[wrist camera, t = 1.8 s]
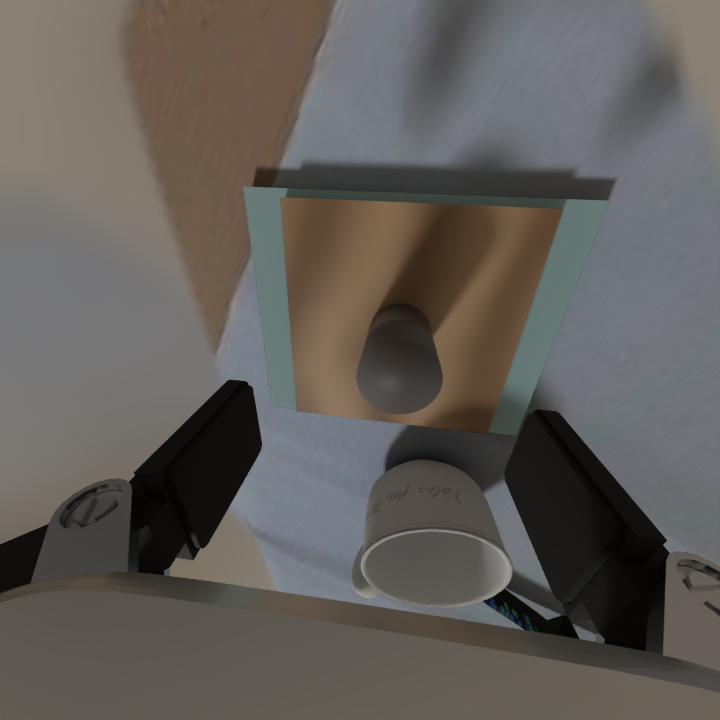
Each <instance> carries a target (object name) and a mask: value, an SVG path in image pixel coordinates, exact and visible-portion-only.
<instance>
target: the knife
mask: <svg viewBox="0 0 720 720" xmlns="http://www.w3.org/2000/svg"><path fill="white" fill-rule="evenodd" d="M483 602H484V603H486V604H487V605H488V606H490V607H491V608H493V609H494V610H496V611H497V612H499V613H500V614H502V615H503V616H505V617H506V618H508V619H509V620H511V621H512V622H514V623H516V624H517V625H519V626H520V627H521V628H523V629H524V630H527V631H533V632H539V633H545V634H552V635H558V636H564V637H570V638H575V639H579V637H578V635H577V633H576V631H575V629H574V627H573V625H572V623H571V621H570V619H569V618H567V617H561V618H558V619H555V620H551V621H547V620H546V619H545V618H544V617H542V616H541V615H540V614H539V613H537V612H536V611H535V610H533V609H532V608H530V607H529V606H528V605H526V604H525V603H524V602H522V601H521V600H519V599H518V598H517V597H515V596H514V595H513V594H511V593H510V592H508V591H507V590H506V589H503V590H502V591H500V592H499V593H497V594H496V595H495V596H493V597H491V598H489V599H487V600H484V601H483Z"/></svg>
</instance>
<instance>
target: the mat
mask: <svg viewBox="0 0 720 720" xmlns="http://www.w3.org/2000/svg"><path fill="white" fill-rule="evenodd" d="M244 195H245V203H246V211H247V219H248V226H249V234H250V242H251V250H252V257H253V265H254V273H255V281H256V288H257V296H258V304H259V312H260V319H261V327H262V335H263V343H264V350H265V358H266V366H267V374H268V381H269V389H270V397H271V405H272V407H278V408H286V409H295V410H296V398H295V385H294V372H293V360H292V347H291V334H290V321H289V309H288V296H287V283H286V271H285V258H284V245H283V232H282V220H281V207H280V197H288V198H312V199H336V200H360V201H384V202H407V203H431V204H455V205H479V206H503V207H527V208H551V209H563V211H562V214H561V217H560V220H559V223H558V226H557V229H556V232H555V235H554V238H553V241H552V244H551V247H550V250H549V253H548V256H547V259H546V262H545V265H544V268H543V271H542V274H541V277H540V280H539V283H538V286H537V289H536V291H535V294H534V297H533V300H532V303H531V306H530V309H529V312H528V315H527V318H526V321H525V324H524V327H523V330H522V333H521V336H520V339H519V342H518V345H517V348H516V351H515V354H514V357H513V360H512V363H511V366H510V369H509V372H508V375H507V378H506V381H505V384H504V387H503V390H502V393H501V396H500V399H499V402H498V405H497V408H496V411H495V414H494V417H493V420H492V423H491V426H490V429H489V432H488V433H496V434H504V435H513V436H516V435H517V433H518V430H519V428H520V425H521V423H522V420H523V418H524V415H525V413H526V410H527V408H528V405H529V403H530V400H531V398H532V395H533V393H534V390H535V388H536V385H537V383H538V380H539V378H540V375H541V373H542V370H543V368H544V365H545V363H546V360H547V358H548V355H549V353H550V350H551V348H552V345H553V343H554V340H555V338H556V335H557V333H558V330H559V327H560V325H561V322H562V320H563V317H564V315H565V312H566V310H567V307H568V305H569V302H570V300H571V297H572V295H573V292H574V290H575V287H576V285H577V282H578V280H579V277H580V275H581V272H582V270H583V267H584V265H585V262H586V260H587V257H588V255H589V252H590V250H591V247H592V245H593V242H594V240H595V237H596V235H597V232H598V230H599V227H600V225H601V222H602V220H603V217H604V215H605V212H606V210H607V207H608V205H609V202H610V201H605V200H579V199H553V198H527V197H501V196H475V195H449V194H423V193H397V192H371V191H345V190H319V189H293V188H267V187H244Z"/></svg>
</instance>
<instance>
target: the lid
mask: <svg viewBox="0 0 720 720" xmlns="http://www.w3.org/2000/svg"><path fill="white" fill-rule="evenodd" d="M280 207H281V220H282V232H283V245H284V258H285V271H286V283H287V296H288V309H289V321H290V334H291V347H292V360H293V372H294V385H295V398H296V411H299V412H307V413H316V414H324V415H332V416H341V417H349V418H357V419H366V420H374V421H383V422H391V423H399V424H408V425H416V426H424V427H433V428H441V429H449V430H458V431H466V432H474V433H483V434H488V432H489V429H490V426H491V423H492V420H493V417H494V414H495V411H496V408H497V405H498V402H499V399H500V396H501V393H502V390H503V387H504V384H505V381H506V378H507V375H508V372H509V369H510V366H511V363H512V360H513V357H514V354H515V351H516V348H517V345H518V342H519V339H520V336H521V333H522V330H523V327H524V324H525V321H526V318H527V315H528V312H529V309H530V306H531V303H532V300H533V297H534V294H535V291H536V289H537V286H538V283H539V280H540V277H541V274H542V271H543V268H544V265H545V262H546V259H547V256H548V253H549V250H550V247H551V244H552V241H553V238H554V235H555V232H556V229H557V226H558V223H559V220H560V217H561V214H562V211H563V209H551V208H527V207H503V206H479V205H455V204H431V203H407V202H384V201H360V200H336V199H312V198H288V197H280Z"/></svg>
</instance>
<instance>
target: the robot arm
mask: <svg viewBox="0 0 720 720" xmlns="http://www.w3.org/2000/svg"><path fill="white" fill-rule="evenodd" d="M261 447H262V441H261V435H260V429H259V423H258V417H257V410H256V404H255V398H254V392H253V388H252V386H249V385H248V383H247V382H246V381H239V380H228V381H227V382H226V383H225V384H224V385H223V386H221V387H220V388H219V389H218V390H217V391H216V392H215V393H214V394H213V395H212V396H211V397H210V398H209V399H208V400H207V401H206V402H205V403H204V404H203V405H202V406H201V407H200V408H199V409H198V410H197V411H196V412H195V413H194V414H193V415H192V416H191V417H190V418H189V419H188V420H187V421H186V422H185V423H184V424H183V425H182V426H181V427H180V428H179V429H178V430H177V431H176V432H175V433H174V434H173V435H172V436H171V437H170V438H169V439H168V440H167V441H166V442H165V443H164V444H163V445H162V446H161V447H159V448H158V449H157V451H155V452H154V453H153V454H152V455H151V456H150V457H149V458H148V459H147V460H146V461H145V462H144V463H143V464H142V465H141V466H140V467H139V468H138V469H137V470H136V471H135V472H134V474H135V476H134V477H133V478H132V479H131V480H130V481H129V482H127V481H126V480H123V479H107V480H104V481H100V482H96V483H94V484H92V485H90V486H87V487H85V488H84V489H82V490H80V491H78V492H76V493H75V494H73V495H72V496H71V497H69V498H68V499H67V500H66V501H64V502H63V503H62V504H61V505H60V506H59V508H58V509H57V510H56V511H55V512H54V514H53V516H52V518H51V520H50V522H49V524H48V525H45V526H43V527H40V528H38V529H35V530H33V531H31V532H29V533H26V534H24V535H21V536H19V537H17V538H14V539H12V540H9V541H7V542H5V543H3V544H0V720H720V566H718V565H716V564H715V563H713V562H711V561H709V560H707V559H705V558H702V557H700V556H698V555H695V554H691V553H688V552H678V551H675V552H673V553H671V554H670V553H669V552H668V551H667V549H666V548H665V547H664V546H663V544H664V543H665V542H666V541H667V540H666V539H665V537H664V536H663V535H662V534H661V533H660V531H659V530H658V529H657V528H656V527H655V526H654V524H653V523H652V522H651V521H650V520H649V518H648V517H647V516H646V515H645V514H644V513H643V511H642V510H641V509H640V508H639V507H638V505H637V504H636V503H635V502H634V501H633V500H632V498H631V497H630V496H629V495H628V494H627V492H626V491H625V490H624V489H623V488H622V487H621V485H620V484H619V483H618V482H617V481H616V479H615V478H614V477H613V476H612V475H611V474H610V472H609V471H608V470H607V469H606V468H605V466H604V465H603V464H602V463H601V462H600V461H599V459H598V458H597V457H596V456H595V455H594V453H593V452H592V451H591V450H590V449H589V448H588V446H587V445H586V444H585V443H584V442H583V440H582V439H581V438H580V437H579V436H578V435H577V433H576V432H575V431H574V430H573V429H572V427H571V426H570V425H569V424H568V423H567V422H566V420H565V419H564V418H563V417H562V416H561V414H560V413H558V412H556V411H549V410H539V409H537V410H535V411H534V412H533V413H530V414H528V416H527V418H526V420H525V422H524V425H523V427H522V430H521V432H520V435H519V437H518V439H517V442H516V444H515V447H514V449H513V452H512V454H511V457H510V459H509V461H508V464H507V466H506V469H505V473H504V477H505V481H506V484H507V486H508V489H509V491H510V493H511V496H512V498H513V501H514V503H515V505H516V508H517V510H518V512H519V515H520V517H521V519H522V522H523V524H524V527H525V529H526V531H527V534H528V536H529V538H530V541H531V543H532V545H533V548H534V550H535V553H536V555H537V557H538V560H539V562H540V564H541V567H542V569H543V571H544V574H545V576H546V578H547V581H548V583H549V586H550V588H551V590H552V592H553V594H554V596H555V597H556V599H558V600H559V601H561V602H562V604H563V606H564V609H565V611H566V613H567V616H568V617H575V618H581V619H588V620H591V619H592V621H593V623H594V625H595V627H596V629H597V637H596V642H592V641H586V640H581V639H575V638H570V637H564V636H558V635H552V634H545V633H539V632H533V631H527V630H521V629H514V628H508V627H502V626H496V625H489V624H483V623H477V622H471V621H465V620H458V619H452V618H446V617H440V616H433V615H427V614H420V613H414V612H408V611H401V610H395V609H388V608H382V607H376V606H369V605H363V604H356V603H350V602H343V601H337V600H330V599H324V598H318V597H311V596H304V595H298V594H291V593H284V592H278V591H271V590H264V589H258V588H251V587H244V586H237V585H231V584H224V583H217V582H211V581H202V580H195V579H187V578H179V577H172V576H170V572H169V568H170V566H171V565H172V563H173V562H174V560H175V558H182V559H190V560H194V558H195V557H196V555H197V553H198V551H199V550H200V548H204V547H206V546H207V544H208V543H209V541H210V539H211V538H212V536H213V534H214V532H215V531H216V529H217V527H218V525H219V524H220V522H221V520H222V518H223V517H224V515H225V513H226V511H227V510H228V508H229V506H230V504H231V503H232V501H233V499H234V497H235V495H236V494H237V492H238V490H239V488H240V487H241V485H242V483H243V481H244V480H245V478H246V476H247V474H248V473H249V471H250V469H251V467H252V466H253V464H254V462H255V460H256V458H257V457H258V455H259V453H260V451H261Z"/></svg>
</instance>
